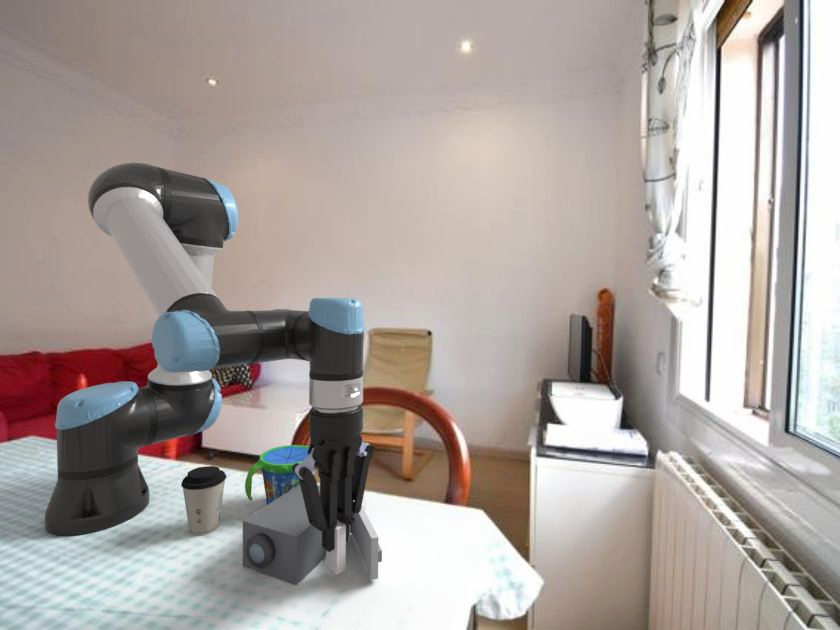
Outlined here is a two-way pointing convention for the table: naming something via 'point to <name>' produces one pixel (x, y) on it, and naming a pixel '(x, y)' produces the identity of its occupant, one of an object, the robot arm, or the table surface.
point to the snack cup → (277, 470)
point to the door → (366, 542)
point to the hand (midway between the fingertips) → (335, 567)
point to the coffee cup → (203, 499)
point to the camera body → (282, 539)
